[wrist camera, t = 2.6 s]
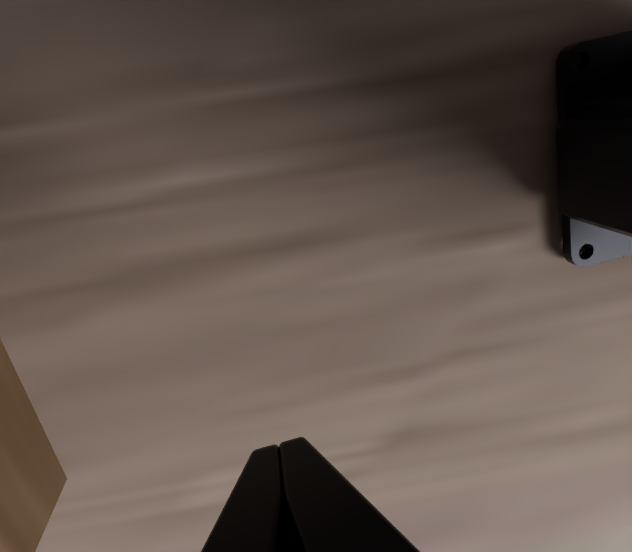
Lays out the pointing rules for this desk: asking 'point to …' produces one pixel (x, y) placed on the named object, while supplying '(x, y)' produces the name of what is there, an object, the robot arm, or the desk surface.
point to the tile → (24, 467)
